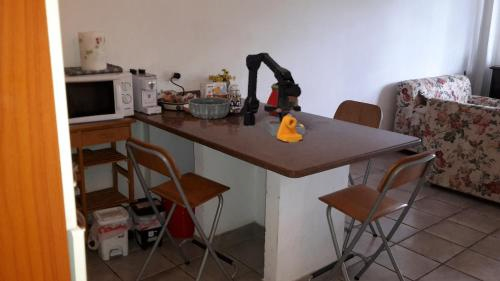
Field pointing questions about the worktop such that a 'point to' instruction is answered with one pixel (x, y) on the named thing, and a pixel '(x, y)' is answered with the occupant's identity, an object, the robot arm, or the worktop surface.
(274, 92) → the bottle
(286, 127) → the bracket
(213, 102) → the bundt pan
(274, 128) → the switch bank
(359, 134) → the worktop surface
